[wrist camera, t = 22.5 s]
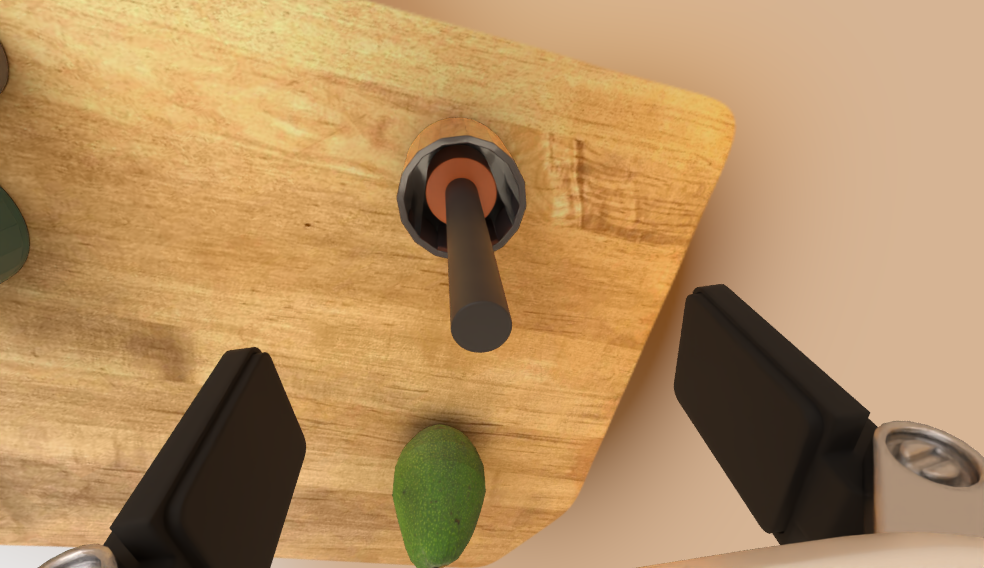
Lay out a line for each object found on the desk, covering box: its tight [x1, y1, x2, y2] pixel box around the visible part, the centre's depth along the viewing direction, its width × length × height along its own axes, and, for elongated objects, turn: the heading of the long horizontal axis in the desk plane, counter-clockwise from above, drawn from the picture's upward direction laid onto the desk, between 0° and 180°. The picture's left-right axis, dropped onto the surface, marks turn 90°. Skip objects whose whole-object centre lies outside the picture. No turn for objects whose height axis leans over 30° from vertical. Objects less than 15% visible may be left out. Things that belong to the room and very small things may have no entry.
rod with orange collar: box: [425, 145, 512, 353], centre depth 23 cm, size 4×4×19 cm
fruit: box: [392, 424, 486, 568], centre depth 38 cm, size 8×8×12 cm
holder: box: [397, 117, 526, 259], centre depth 29 cm, size 7×7×7 cm
